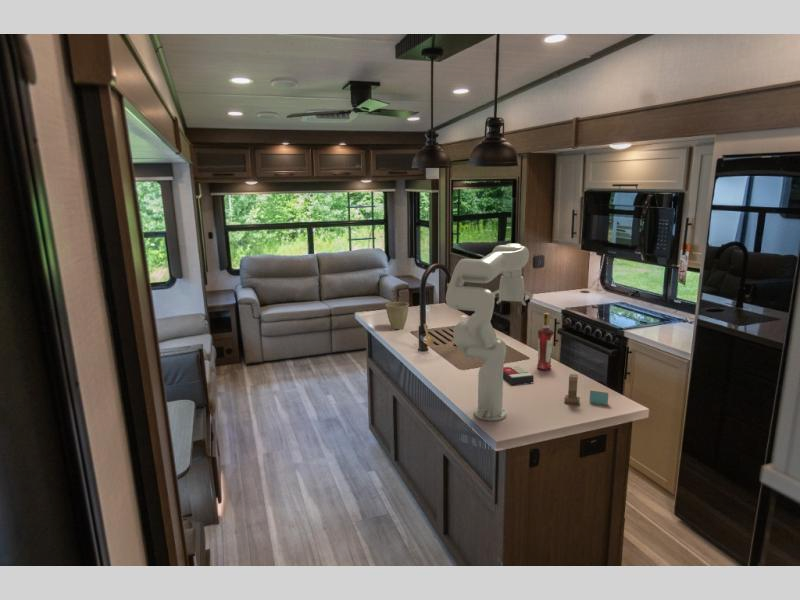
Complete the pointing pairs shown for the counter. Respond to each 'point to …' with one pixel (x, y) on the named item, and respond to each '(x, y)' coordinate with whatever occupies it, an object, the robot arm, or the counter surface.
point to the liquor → (545, 345)
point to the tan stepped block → (572, 391)
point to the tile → (599, 396)
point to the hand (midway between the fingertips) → (511, 313)
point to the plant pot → (397, 314)
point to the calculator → (517, 375)
